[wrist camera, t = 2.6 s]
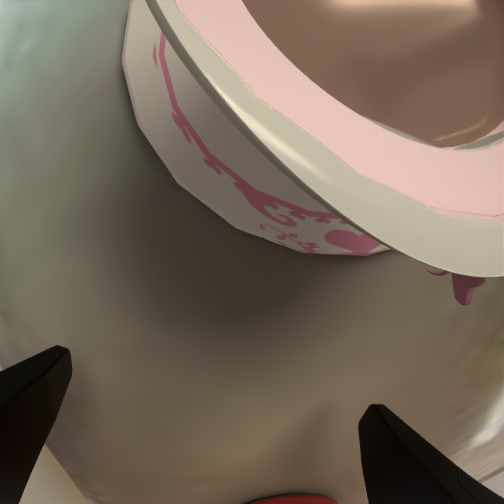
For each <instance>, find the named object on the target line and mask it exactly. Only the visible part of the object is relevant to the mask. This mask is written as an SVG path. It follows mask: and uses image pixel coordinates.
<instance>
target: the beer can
mask: <svg viewBox="0 0 504 504" xmlns="http://www.w3.org/2000/svg"><path fill="white" fill-rule="evenodd" d="M249 504H338V503H337V502H336V501H334V500H333V499H330V498H328V497H325V496H321V495H314V494H289V495H279V496H274V497H269V498H264V499H260V500H257V501H254V502H251V503H249Z"/></svg>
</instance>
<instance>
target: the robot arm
mask: <svg viewBox="0 0 504 504" xmlns="http://www.w3.org/2000/svg"><path fill="white" fill-rule="evenodd" d="M71 377H72V362H71V354H70V350H69V349H68V348H65V347H62V346H59V345H56V346H53V347H51V348H49V349H47V350H45V351H43V352H41V353H38V354H36V355H34V356H32V357H30V358H28V359H26V360H24V361H22V362H19V363H17V364H15V365H13V366H11V367H9V368H7V369H5V370H3V371H0V504H19V502H20V499H21V497H22V494H23V492H24V489H25V487H26V484H27V482H28V480H29V477H30V475H31V472H32V470H33V468H34V465H35V463H36V461H37V459H38V456H39V454H40V452H41V450H42V447H43V445H44V443H45V441H46V439H47V437H48V435H49V433H50V431H51V428H52V426H53V424H54V422H55V420H56V418H57V415H58V412H59V410H60V407H61V404H62V401H63V398H64V396H65V393H66V390H67V387H68V385H69V382H70V379H71ZM358 431H359V441H360V452H361V463H362V470H363V476H364V481H365V486H366V491H367V497H368V502H369V504H504V498H502V497H501V496H499V495H497V494H496V493H494V492H493V491H491V490H490V489H488V488H487V487H485V486H484V485H482V484H481V483H479V482H478V481H476V480H475V479H473V478H472V477H471V476H470V475H468V474H467V473H466V472H464V471H463V470H462V469H461V468H459V467H458V466H456V464H454V463H453V462H452V461H451V460H449V459H448V458H447V457H446V456H445V455H443V454H442V453H441V452H440V451H438V450H437V449H436V448H435V447H434V446H432V445H431V444H430V443H429V442H428V441H426V440H425V439H424V438H423V437H422V436H420V435H419V434H418V433H417V432H416V431H414V430H413V429H412V428H411V427H410V426H408V425H407V424H406V423H405V422H404V421H402V420H401V419H400V418H399V417H398V416H396V415H395V414H394V413H393V412H392V411H391V410H389V409H388V408H387V407H386V406H385V405H383V404H371V405H370V406H369V407H368V409H367V410H366V412H365V413H364V415H363V416H362V418H361V419H360V421H359V425H358Z"/></svg>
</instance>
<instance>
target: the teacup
mask: <svg viewBox="0 0 504 504" xmlns="http://www.w3.org/2000/svg"><path fill="white" fill-rule="evenodd" d="M122 65H123V69H124V73H125V77H126V81H127V86H128V90H129V94H130V98H131V102H132V105H133V109H134V113H135V117H136V121H137V124H138V126H139V128H140V129H141V131H142V132H143V133H144V135H145V136H146V138H147V139H148V141H149V142H150V144H151V145H152V147H153V148H154V150H155V151H156V153H157V154H158V156H159V157H160V158H161V160H162V161H163V163H164V164H165V166H166V167H167V169H168V170H169V172H170V173H171V175H172V176H173V177H174V179H175V180H176V182H177V183H178V184H179V185H180V186H182V187H183V188H184V189H185V190H187V191H188V192H189V193H191V194H192V195H193V196H195V197H196V198H197V199H199V200H200V201H201V202H202V203H204V204H205V205H206V206H208V207H209V208H210V209H212V210H213V211H214V212H215V213H217V214H218V215H219V216H221V217H222V218H223V219H225V220H226V221H227V222H228V223H230V224H231V225H232V226H234V227H235V228H236V229H239V230H242V231H245V232H247V233H250V234H253V235H256V236H258V237H261V238H264V239H266V240H269V241H272V242H275V243H277V244H280V245H283V246H285V247H288V248H291V249H293V250H296V251H299V252H301V253H316V254H337V255H359V256H368V255H372V254H375V253H379V252H383V251H386V250H390V249H392V250H394V251H396V252H398V253H400V254H402V255H404V256H406V257H409V258H412V259H414V260H417V261H419V262H420V263H421V264H422V265H423V267H424V268H425V269H426V270H427V271H428V272H430V273H432V274H433V275H439V276H442V275H444V274H447V273H449V272H450V273H452V278H453V288H454V295H455V299H456V300H457V301H458V302H459V303H460V304H462V305H464V306H465V305H469V304H470V302H471V300H472V296H473V292H474V288H475V287H478V286H481V285H482V284H483V283H485V279H484V278H497V277H504V0H131V1H130V6H129V12H128V18H127V24H126V31H125V38H124V46H123V54H122Z"/></svg>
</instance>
